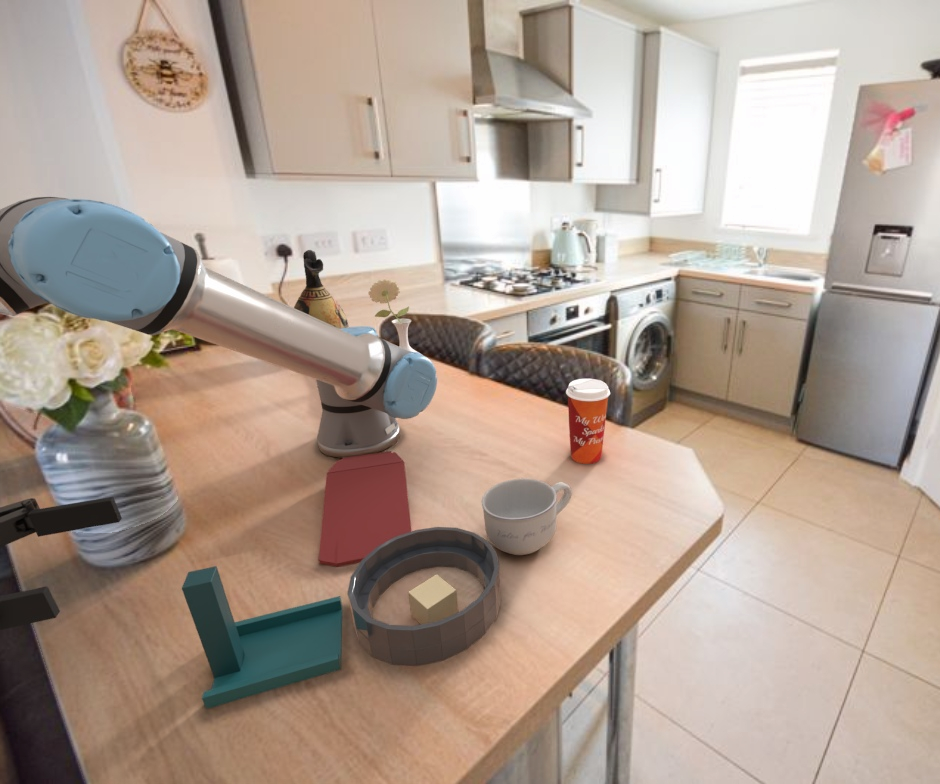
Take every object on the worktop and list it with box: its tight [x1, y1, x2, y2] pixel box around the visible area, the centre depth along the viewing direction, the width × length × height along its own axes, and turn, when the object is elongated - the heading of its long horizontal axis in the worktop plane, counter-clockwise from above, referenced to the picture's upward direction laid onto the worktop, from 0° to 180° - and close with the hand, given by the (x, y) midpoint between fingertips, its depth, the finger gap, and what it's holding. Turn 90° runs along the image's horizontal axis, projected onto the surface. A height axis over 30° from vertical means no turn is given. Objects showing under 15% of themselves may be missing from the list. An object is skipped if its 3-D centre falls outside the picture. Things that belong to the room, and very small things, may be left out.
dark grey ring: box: [347, 526, 502, 667], centre depth 63 cm, size 17×17×6 cm
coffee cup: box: [565, 378, 611, 465], centre depth 97 cm, size 8×8×15 cm
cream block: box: [407, 574, 459, 625], centre depth 62 cm, size 4×4×4 cm
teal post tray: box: [181, 565, 343, 710], centre depth 55 cm, size 12×10×13 cm
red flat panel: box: [318, 450, 412, 567], centre depth 81 cm, size 12×5×25 cm
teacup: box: [481, 478, 573, 556], centre depth 75 cm, size 14×11×8 cm
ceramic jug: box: [293, 249, 350, 329], centre depth 148 cm, size 17×15×30 cm
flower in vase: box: [368, 279, 420, 353], centre depth 138 cm, size 13×11×25 cm
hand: (88, 550), depth 48 cm, fingers open, 13 cm apart
